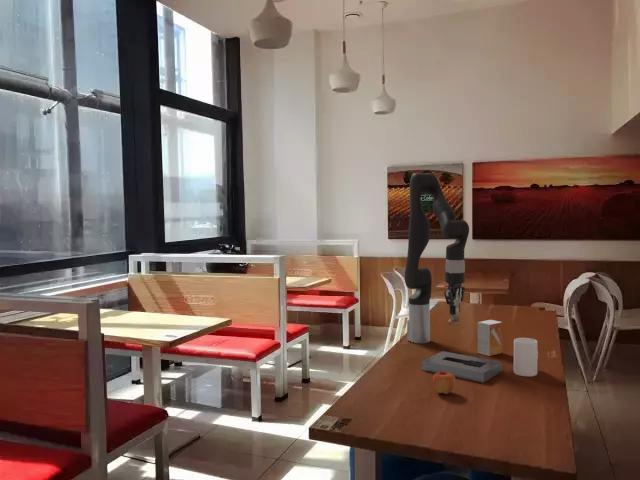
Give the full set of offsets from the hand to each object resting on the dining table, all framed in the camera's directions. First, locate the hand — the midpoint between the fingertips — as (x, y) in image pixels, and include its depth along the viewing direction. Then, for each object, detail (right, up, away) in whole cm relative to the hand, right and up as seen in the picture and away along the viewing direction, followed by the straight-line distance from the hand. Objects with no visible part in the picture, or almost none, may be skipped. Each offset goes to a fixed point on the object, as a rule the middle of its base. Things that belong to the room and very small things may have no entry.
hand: (454, 313), depth 212 cm
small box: (+16, -18, +7) cm, 25 cm away
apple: (-13, -21, -37) cm, 45 cm away
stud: (0, -4, 0) cm, 4 cm away
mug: (+22, -19, -17) cm, 34 cm away
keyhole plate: (-1, -19, -15) cm, 24 cm away
